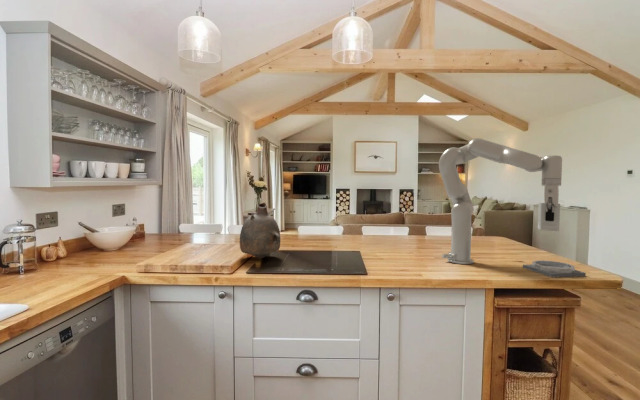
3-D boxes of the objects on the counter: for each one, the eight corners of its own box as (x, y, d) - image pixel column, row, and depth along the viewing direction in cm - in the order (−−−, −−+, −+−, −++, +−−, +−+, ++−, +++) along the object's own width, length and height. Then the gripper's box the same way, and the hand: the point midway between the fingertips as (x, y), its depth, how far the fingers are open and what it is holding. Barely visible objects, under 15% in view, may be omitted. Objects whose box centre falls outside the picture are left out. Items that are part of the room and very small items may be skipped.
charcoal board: (551, 277, 146) (551, 274, 146) (522, 267, 163) (522, 264, 163) (585, 276, 149) (585, 272, 149) (553, 266, 166) (553, 263, 166)
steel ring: (551, 273, 147) (552, 269, 147) (524, 264, 163) (524, 260, 163) (584, 272, 149) (584, 268, 149) (553, 263, 165) (553, 259, 165)
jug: (230, 262, 170) (230, 203, 169) (246, 253, 191) (246, 201, 190) (276, 264, 166) (276, 204, 165) (287, 255, 187) (288, 202, 186)
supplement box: (559, 231, 150) (560, 203, 150) (539, 230, 154) (541, 203, 153) (556, 229, 157) (557, 202, 156) (537, 228, 160) (538, 202, 160)
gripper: (560, 182, 145) (559, 222, 146) (561, 182, 159) (560, 219, 159) (540, 182, 149) (538, 221, 150) (542, 182, 163) (541, 218, 164)
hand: (550, 220), depth 155 cm, fingers closed on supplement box, 8 cm apart
